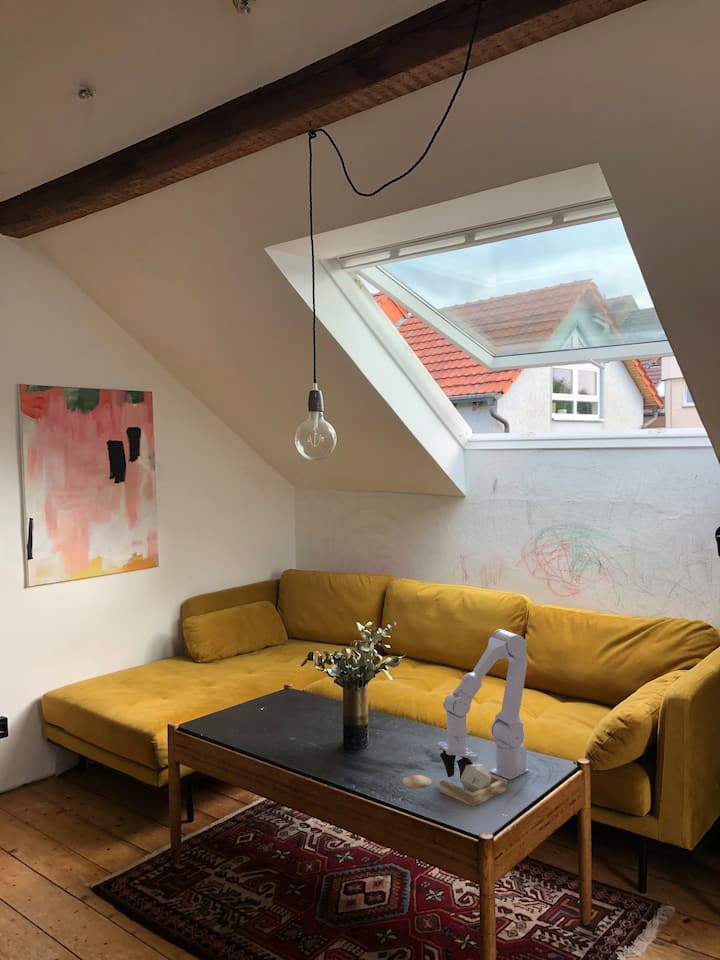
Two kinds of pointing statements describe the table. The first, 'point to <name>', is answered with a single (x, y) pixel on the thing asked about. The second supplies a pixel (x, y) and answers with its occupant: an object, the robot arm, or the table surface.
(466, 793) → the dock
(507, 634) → the robot arm
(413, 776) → the coaster
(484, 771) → the die
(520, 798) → the table surface
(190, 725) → the table surface
